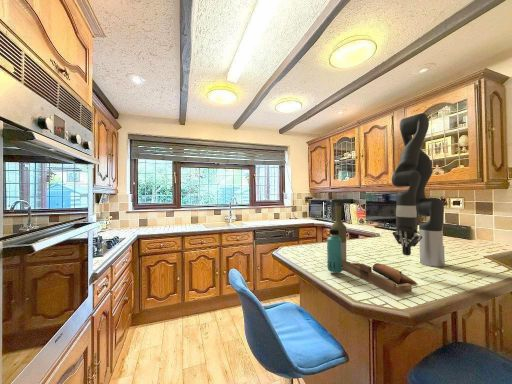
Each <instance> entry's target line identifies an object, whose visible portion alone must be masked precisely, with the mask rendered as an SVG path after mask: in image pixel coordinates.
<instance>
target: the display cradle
mask: <svg viewBox="0 0 512 384" xmlns="http://www.w3.org/2000/svg"><path fill="white" fill-rule="evenodd" d="M343 270H344V271H345V272H347V273H349V274H351V275H353V276H355V277H357V278H359V279H361V280H363V281H365V282H367V283H369V284H370V285H373V286H375V287H377V288H379V289H381V290H383V291H385V292H387V293H389V294H391V295H392V296H394V295H395V296H396V295H398V294H406V293H412V290H413V288H412V286H413V285H411V284H408V283H406V284H399V283H397V282H395V281H394V280H392V279H388V278H386V277H384V276H381V275H378V274H377V273H374V272H373V271H372V270H373V267H372V266H370V265H368V264H365V263H360V262H349V261H347V260H346V261H343V268H342V271H343Z"/></svg>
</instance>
